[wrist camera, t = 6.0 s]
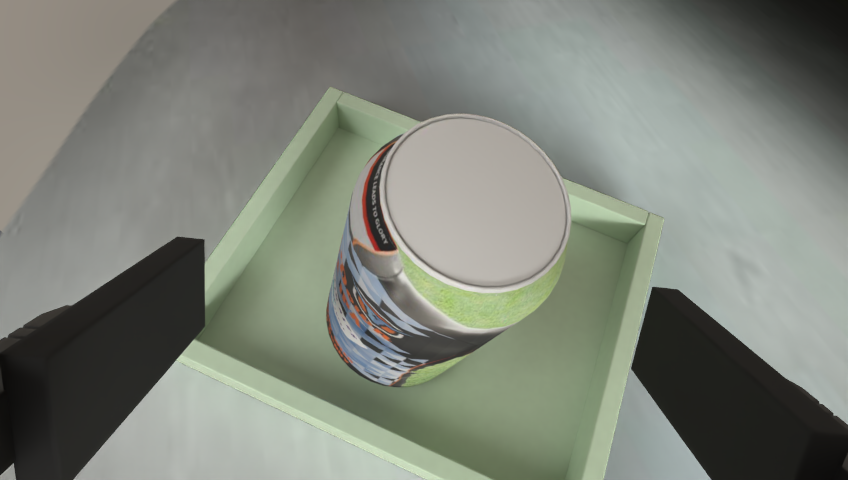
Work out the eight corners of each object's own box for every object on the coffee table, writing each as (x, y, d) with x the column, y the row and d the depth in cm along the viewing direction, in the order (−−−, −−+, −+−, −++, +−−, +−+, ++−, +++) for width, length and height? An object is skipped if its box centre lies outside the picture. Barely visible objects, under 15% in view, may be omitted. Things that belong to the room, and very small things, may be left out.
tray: (169, 357, 22) (148, 341, 20) (332, 117, 29) (329, 85, 27) (565, 545, 20) (587, 549, 18) (642, 240, 27) (665, 217, 25)
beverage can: (348, 249, 25) (329, 51, 14) (501, 281, 25) (599, 105, 14) (310, 382, 22) (252, 258, 11) (484, 418, 22) (593, 328, 11)
